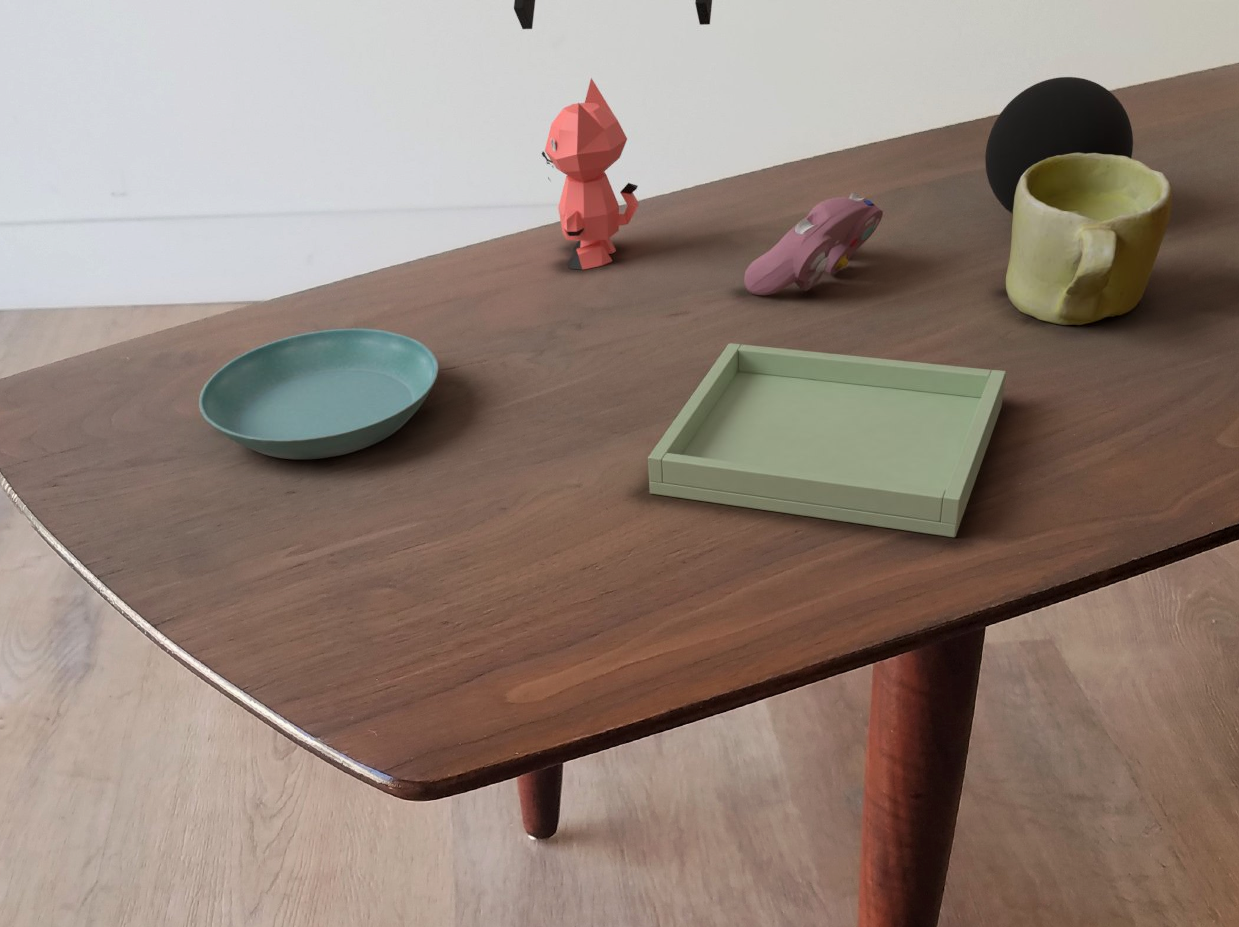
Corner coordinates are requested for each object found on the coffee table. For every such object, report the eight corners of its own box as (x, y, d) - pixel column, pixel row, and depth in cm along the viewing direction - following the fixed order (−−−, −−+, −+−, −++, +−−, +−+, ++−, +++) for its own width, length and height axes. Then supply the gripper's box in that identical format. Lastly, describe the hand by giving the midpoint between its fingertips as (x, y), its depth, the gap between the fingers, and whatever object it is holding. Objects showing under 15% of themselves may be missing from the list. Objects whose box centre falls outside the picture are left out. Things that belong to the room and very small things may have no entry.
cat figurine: (559, 239, 107) (545, 77, 99) (647, 237, 106) (639, 73, 98) (543, 275, 101) (527, 106, 94) (635, 274, 100) (627, 103, 93)
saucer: (192, 397, 90) (181, 360, 88) (408, 347, 93) (402, 310, 92) (230, 502, 79) (219, 461, 77) (474, 440, 82) (468, 400, 81)
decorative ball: (1116, 197, 104) (1139, 58, 98) (1124, 248, 97) (1149, 101, 91) (980, 196, 107) (994, 60, 101) (977, 245, 99) (992, 102, 93)
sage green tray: (1001, 406, 80) (1006, 370, 79) (955, 538, 70) (959, 499, 69) (729, 376, 86) (729, 342, 85) (649, 493, 76) (647, 457, 74)
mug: (992, 233, 96) (1052, 105, 88) (1133, 287, 94) (1207, 163, 86) (948, 337, 89) (1009, 209, 81) (1099, 397, 88) (1177, 273, 79)
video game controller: (781, 327, 95) (823, 248, 89) (733, 286, 96) (771, 205, 90) (861, 278, 100) (905, 201, 94) (815, 240, 101) (856, 161, 95)
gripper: (807, -222, 105) (783, 41, 103) (494, -202, 110) (465, 48, 108) (803, -301, 97) (777, -20, 95) (467, -275, 103) (436, -9, 101)
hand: (611, 17), depth 102 cm, fingers open, 13 cm apart
